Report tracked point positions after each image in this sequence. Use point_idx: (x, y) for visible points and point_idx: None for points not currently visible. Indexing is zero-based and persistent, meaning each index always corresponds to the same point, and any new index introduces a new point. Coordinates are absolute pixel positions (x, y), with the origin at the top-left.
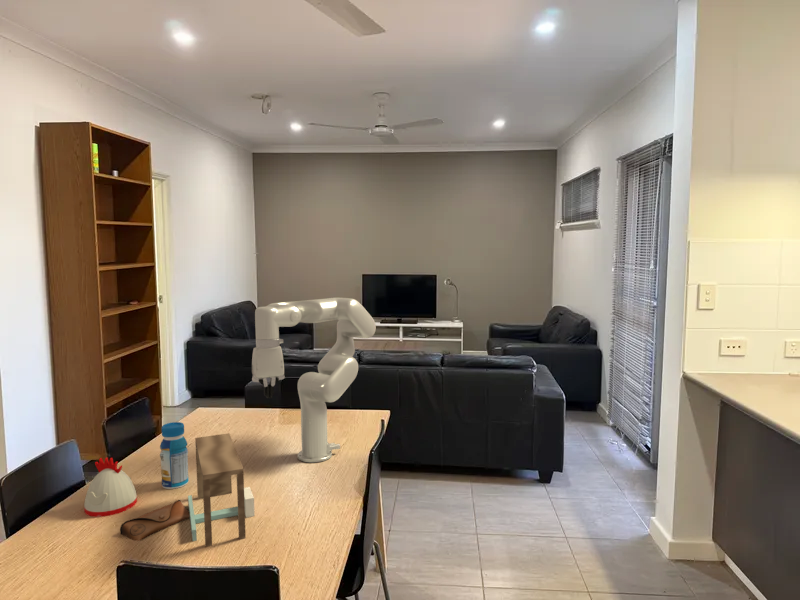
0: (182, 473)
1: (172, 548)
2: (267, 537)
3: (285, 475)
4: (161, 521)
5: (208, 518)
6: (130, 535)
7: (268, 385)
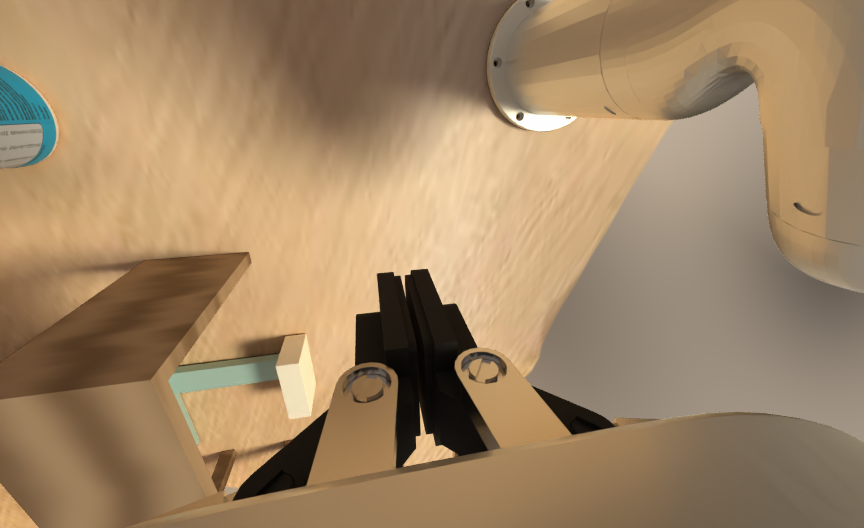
0: (3, 163)
1: None
2: None
3: (415, 192)
4: None
5: None
6: None
7: (426, 362)
